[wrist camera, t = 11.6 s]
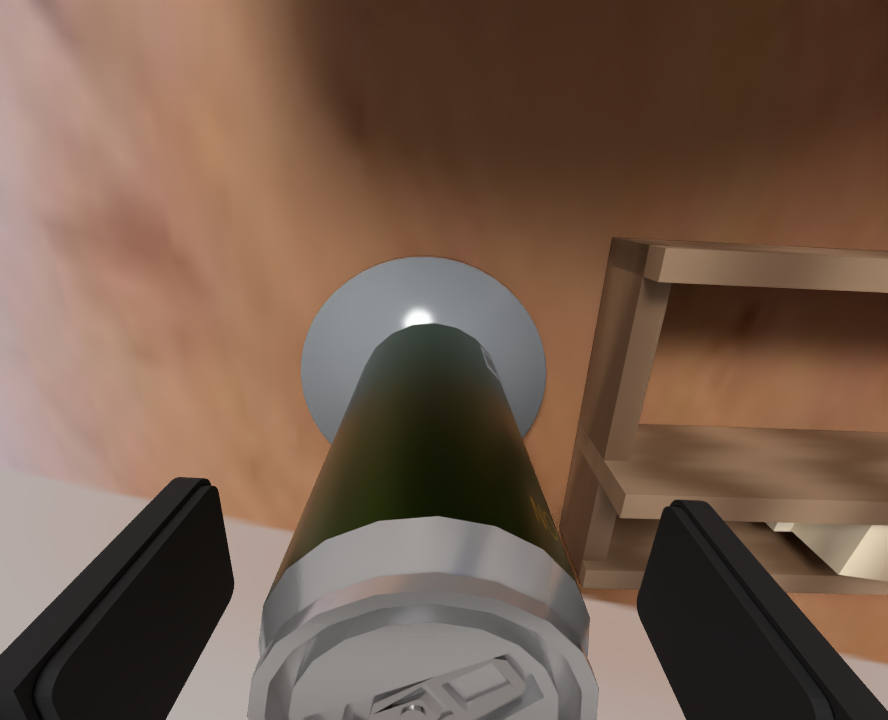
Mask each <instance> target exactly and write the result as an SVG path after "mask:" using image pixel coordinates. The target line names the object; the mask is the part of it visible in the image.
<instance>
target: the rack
mask: <svg viewBox="0 0 888 720" xmlns="http://www.w3.org/2000/svg"><path fill="white" fill-rule="evenodd" d="M672 283H688V284H710V285H732V286H753V287H775V288H797V289H819V290H840V291H862V292H884V293H888V251H877V250H856V249H836V248H816V247H796V246H775V245H755V244H735V243H715V242H694V241H674V240H654V239H634V238H612V243H611V249H610V254H609V260H608V265H607V271H606V276H605V282H604V287H603V293H602V298H601V304H600V309H599V315H598V320H597V326H596V331H595V337H594V342H593V348H592V353H591V359H590V364H589V370H588V375H587V381H586V386H585V392H584V397H583V402H582V408H581V413H580V419H579V424H578V430H577V435H576V441H575V446H574V452H573V457H572V463H571V468H570V474H569V479H568V485H567V490H566V496H565V501H564V507H563V512H562V518H561V523H560V530H561V533H562V535H563V538H564V541H565V543H566V546H567V549H568V551H569V554H570V557H571V559H572V562H573V565H574V567H575V570H576V572H577V575H578V578H579V580H580V583H581V586H582V588H599V589H640V587H641V583H642V580H643V576H644V573H645V569H646V566H647V562H648V559H649V556H650V552H651V549H652V545H653V542H654V538H655V535H656V532H657V528H658V525H659V521H660V518H661V514H662V511H663V509H664V508H665V507H667V506H670V504H671V503H672V502H673V501H674V500H677V499H678V500H700V501H705V502H707V503H708V504H709V505H710V506H711V507H712V508H713V509H714V510H715V511H716V512H717V514H718V515H719V516H720V517H721V518H722V519H723V521H724V522H725V523H726V524H727V525H728V526H729V528H730V529H731V530H732V531H733V532H734V533H735V535H736V536H737V537H738V538H739V539H740V540H741V541H742V543H743V544H744V545H745V546H746V547H747V548H748V550H749V551H750V552H751V553H752V554H753V555H754V557H755V558H756V559H757V560H758V561H759V562H760V564H761V565H762V566H763V567H764V568H765V569H766V571H767V572H768V573H769V574H770V575H771V576H772V577H773V579H774V580H775V581H776V582H777V583H778V584H779V586H780V587H781V588H782V589H783V590H784V591H785V593H826V594H871V595H888V582H887V581H880V580H873V579H866V578H858V577H851V576H844V575H838V574H837V573H836V572H835V571H834V570H833V569H832V568H831V567H830V566H829V565H828V564H826V563H825V562H824V561H823V560H822V559H821V558H820V557H819V556H818V555H817V554H816V553H815V552H814V551H812V550H811V549H810V548H809V547H808V546H807V545H806V544H805V543H804V542H803V541H802V540H801V539H800V538H798V537H797V536H796V535H795V534H794V533H793V532H788V531H773V530H772V529H771V528H770V527H769V526H768V525H767V524H766V523H765V522H781V523H817V524H854V525H888V433H882V432H853V431H824V430H796V429H767V428H739V427H710V426H681V425H653V424H639V420H640V415H641V411H642V407H643V403H644V399H645V394H646V390H647V386H648V382H649V378H650V374H651V369H652V365H653V361H654V357H655V353H656V348H657V344H658V340H659V336H660V332H661V327H662V323H663V319H664V315H665V311H666V307H667V302H668V298H669V294H670V290H671V286H672Z"/></svg>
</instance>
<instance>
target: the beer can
mask: <svg viewBox="0 0 888 720" xmlns="http://www.w3.org/2000/svg"><path fill="white" fill-rule="evenodd" d="M589 622H590V617H589V614H588V612H587V609H586V606H585V603H584V601H583V598H582V596H581V593H580V590H579V588H578V585H577V582H576V580H575V577H574V574H573V572H572V569H571V566H570V564H569V561H568V559H567V556H566V553H565V551H564V548H563V545H562V543H561V540H560V537H559V535H558V532H557V529H556V527H555V524H554V522H553V519H552V516H551V514H550V511H549V508H548V506H547V503H546V500H545V498H544V495H543V492H542V490H541V487H540V484H539V482H538V479H537V477H536V474H535V471H534V469H533V466H532V463H531V461H530V458H529V455H528V453H527V450H526V447H525V445H524V442H523V440H522V437H521V434H520V432H519V429H518V426H517V424H516V421H515V418H514V416H513V413H512V410H511V408H510V405H509V402H508V400H507V397H506V395H505V392H504V389H503V387H502V384H501V381H500V379H499V376H498V373H497V371H496V368H495V366H494V363H493V361H492V358H491V356H490V354H489V353H488V352H487V351H486V350H485V349H484V347H483V346H482V345H481V344H480V343H479V342H478V341H477V339H475V338H473V337H472V336H470V335H468V334H467V333H465V332H463V331H462V330H460V329H458V328H455V327H450V326H446V325H442V324H437V323H431V324H419V325H411V326H409V327H407V328H404V329H402V330H399V331H397V332H394V333H392V334H391V335H390V336H389V337H387V338H386V339H385V340H384V341H383V342H382V343H380V344H379V345H378V346H377V347H376V348H375V350H374V351H373V353H372V355H371V356H370V358H369V360H368V362H367V363H366V365H365V367H364V369H363V372H362V374H361V377H360V379H359V381H358V384H357V386H356V388H355V391H354V393H353V395H352V398H351V400H350V403H349V405H348V407H347V410H346V412H345V414H344V417H343V419H342V421H341V424H340V426H339V428H338V431H337V433H336V436H335V438H334V440H333V443H332V445H331V447H330V450H329V452H328V454H327V457H326V459H325V462H324V464H323V466H322V469H321V471H320V473H319V476H318V478H317V480H316V483H315V485H314V488H313V490H312V492H311V495H310V497H309V499H308V502H307V504H306V506H305V509H304V511H303V513H302V516H301V518H300V521H299V523H298V525H297V528H296V530H295V532H294V535H293V537H292V539H291V542H290V544H289V547H288V549H287V551H286V554H285V556H284V558H283V561H282V563H281V565H280V568H279V570H278V572H277V575H276V577H275V580H274V582H273V584H272V587H271V589H270V592H269V594H268V596H267V598H266V601H265V603H264V606H263V613H262V621H261V629H260V637H259V652H260V659H259V661H258V664H257V666H256V669H255V672H254V674H253V677H252V680H251V688H250V697H249V704H248V713H247V717H248V719H249V720H596V719H597V705H598V692H599V688H598V685H597V682H596V679H595V677H594V673H593V670H592V668H591V665H590V663H589V661H588V659H587V655H588V639H589Z"/></svg>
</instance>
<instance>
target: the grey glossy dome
mask: <svg viewBox="0 0 888 720" xmlns="http://www.w3.org/2000/svg"><path fill="white" fill-rule="evenodd" d="M431 323H437V324H442V325H446V326H450V327H455V328H458V329H460V330H462V331H463V332H465V333H467V334H468V335H470V336H472V337H473V338H475V339H477V341H478V342H479V343H480V344H481V345H482V346H483V347H484V349H485V350H486V351H487V352H488V353H489V354H490V356H491V358H492V361H493V363H494V366H495V368H496V371H497V373H498V376H499V379H500V381H501V384H502V387H503V389H504V392H505V395H506V397H507V400H508V402H509V405H510V408H511V410H512V413H513V416H514V418H515V421H516V424H517V426H518V429H519V432H520V434H521V437H522V439H523V437H524V436H525V434H526V433H527V432H528V430H529V429H530V427H531V425H532V423H533V422H534V420H535V418H536V416H537V414H538V411H539V408H540V405H541V403H542V399H543V395H544V390H545V382H546V362H545V354H544V350H543V345H542V341H541V339H540V336H539V333H538V331H537V328H536V326H535V324H534V322H533V321H532V319H531V317H530V315H529V314H528V312H527V311H526V310H525V308H524V307H523V305H522V304H521V303H520V301H519V300H518V299H517V298H516V297H515V296H514V295H513V294H512V293H511V292H510V291H509V290H508V289H507V288H506V287H505V286H504V285H503V284H502V283H500V282H499V281H498V280H497V279H495V278H494V277H493V276H491V275H489V274H488V273H486V272H484V271H482V270H481V269H479V268H477V267H474V266H472V265H469V264H467V263H464V262H462V261H458V260H454V259H450V258H446V257H438V256H408V257H401V258H395V259H392V260H388V261H385V262H382V263H379V264H376V265H374V266H372V267H370V268H368V269H365V270H364V271H362V272H360V273H359V274H357V275H356V276H354V277H353V278H351V279H350V280H348V281H347V282H346V283H345V284H344V285H343V286H341V287H340V288H339V289H338V290H337V291H336V292H335V293H333V295H332V296H331V297H330V298H329V299H328V300H327V301H326V303H325V304H324V305H323V306H322V308H321V309H320V311H319V312H318V314H317V315H316V317H315V318H314V320H313V322H312V325H311V327H310V329H309V331H308V333H307V337H306V340H305V344H304V347H303V353H302V360H301V380H302V386H303V393H304V396H305V400H306V403H307V406H308V409H309V411H310V413H311V415H312V418H313V420H314V421H315V423H316V425H317V426H318V428H319V430H320V431H321V433H322V434H323V435H324V436H325V438H326V439H327V440H328V441H329V442H330V444H331V445H332V443H333V440H334V438H335V436H336V433H337V431H338V428H339V426H340V424H341V421H342V419H343V417H344V414H345V412H346V410H347V407H348V405H349V403H350V400H351V398H352V395H353V393H354V391H355V388H356V386H357V384H358V381H359V379H360V377H361V374H362V372H363V369H364V367H365V365H366V363H367V362H368V360H369V358H370V356H371V355H372V353H373V351H374V350H375V348H376V347H377V346H378V345H379V344H380V343H382V342H383V341H384V340H385V339H386V338H387V337H389V336H390V335H391V334H392V333H394V332H397V331H399V330H402V329H404V328H407V327H409V326H411V325H419V324H431Z"/></svg>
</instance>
